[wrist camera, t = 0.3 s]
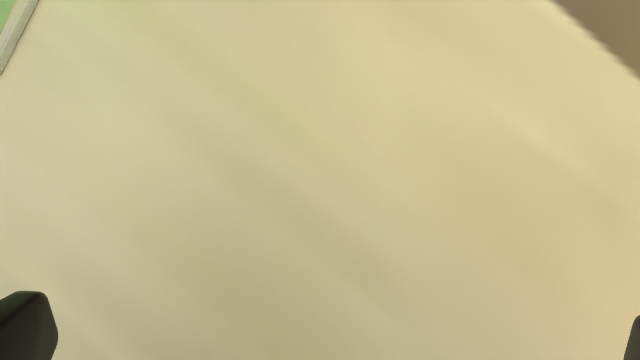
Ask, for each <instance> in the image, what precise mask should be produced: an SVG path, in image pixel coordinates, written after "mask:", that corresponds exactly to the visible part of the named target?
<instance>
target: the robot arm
mask: <svg viewBox="0 0 640 360" xmlns="http://www.w3.org/2000/svg"><path fill="white" fill-rule="evenodd" d="M57 342H58V330H57V326H56V323H55V320H54V317H53V314H52V311H51V307H50V304H49V301H48V298H47V297H46V295H45V294H44V293H42V292H36V291H18V292H15V293H13V294H11V295H9V296H7V297H5V298H3V299H1V300H0V360H51V358H52V356H53V354H54V351H55V349H56V346H57ZM624 360H640V315H639V316H637V317H636V319H635V320H634V322H633V325H632V329H631V333H630V336H629V340H628V344H627V347H626V351H625V354H624Z"/></svg>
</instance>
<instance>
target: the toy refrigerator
mask: <svg viewBox="0 0 640 360" xmlns="http://www.w3.org/2000/svg"><path fill="white" fill-rule="evenodd" d="M37 2H38V0H0V74H1V73H2V71H3V69H4V67H5V66H6V64H7V62H8V60H9V58H10V56H11V54H12V52H13V50H14V48H15V46H16V44H17V42H18V40H19V38H20V36H21V34H22V32H23V30H24V28H25V26H26V24H27V22H28V20H29V18H30V16H31V14H32V12H33V10H34V8H35V6H36V4H37Z"/></svg>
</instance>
